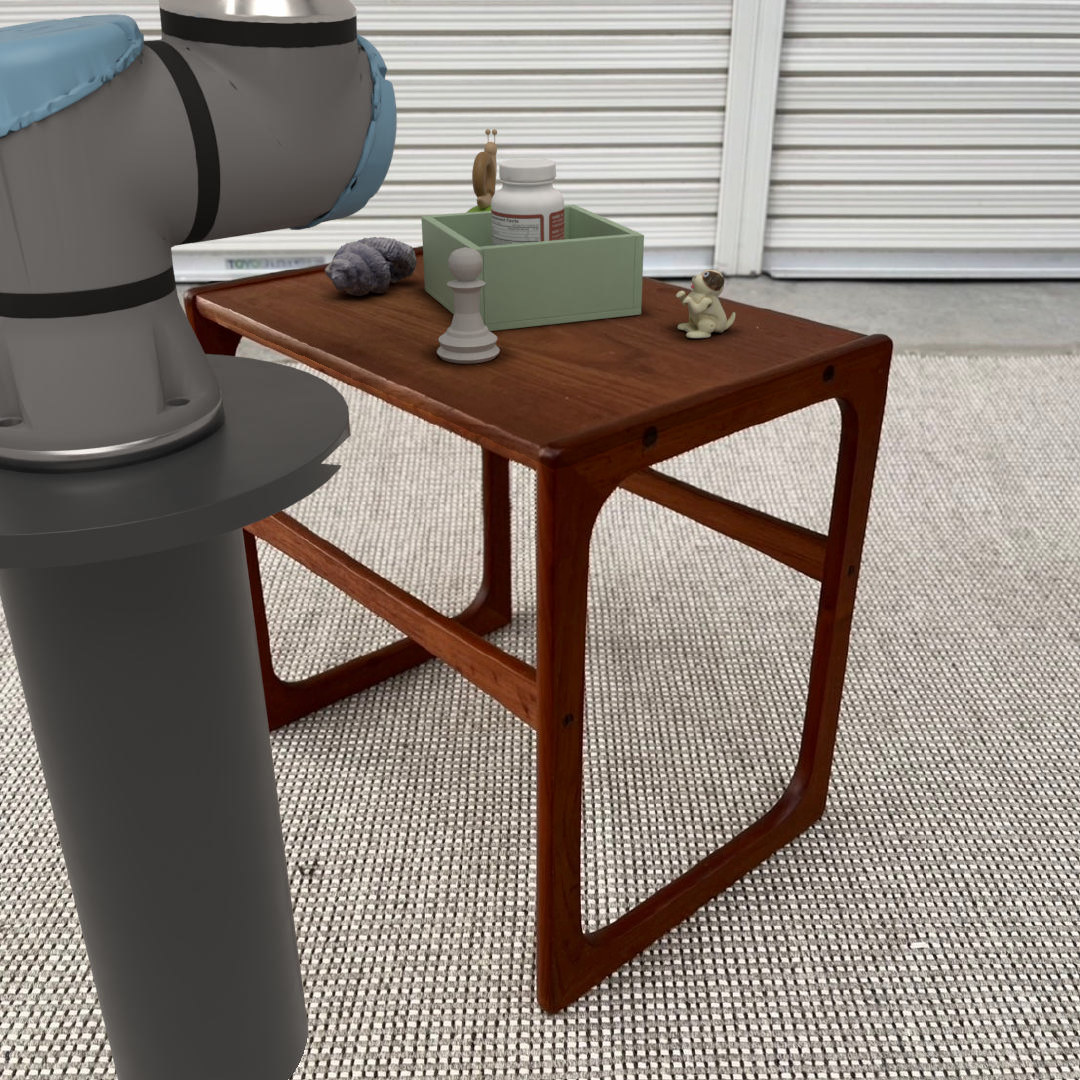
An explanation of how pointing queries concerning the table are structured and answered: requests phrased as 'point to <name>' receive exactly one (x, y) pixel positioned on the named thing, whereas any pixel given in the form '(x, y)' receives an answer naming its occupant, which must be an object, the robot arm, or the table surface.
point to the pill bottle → (527, 203)
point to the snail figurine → (485, 175)
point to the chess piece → (467, 313)
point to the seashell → (371, 265)
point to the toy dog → (705, 306)
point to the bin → (540, 270)
